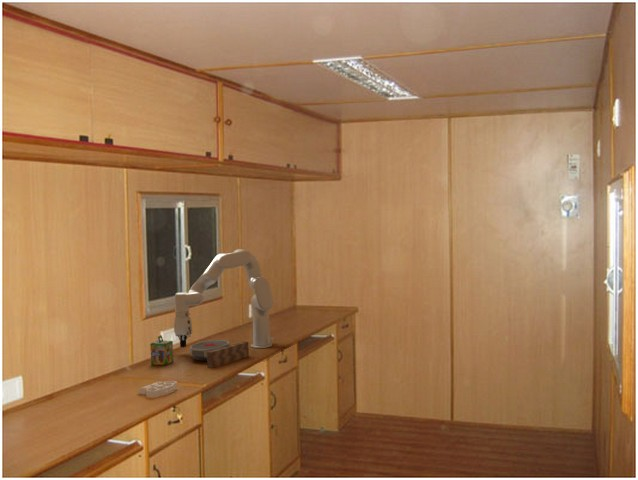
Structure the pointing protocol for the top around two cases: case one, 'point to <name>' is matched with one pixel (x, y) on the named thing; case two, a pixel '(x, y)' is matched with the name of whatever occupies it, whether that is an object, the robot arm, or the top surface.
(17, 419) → the top surface
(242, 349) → the walnut board
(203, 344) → the first aid kit
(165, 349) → the chalk box
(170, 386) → the white muffin tray
